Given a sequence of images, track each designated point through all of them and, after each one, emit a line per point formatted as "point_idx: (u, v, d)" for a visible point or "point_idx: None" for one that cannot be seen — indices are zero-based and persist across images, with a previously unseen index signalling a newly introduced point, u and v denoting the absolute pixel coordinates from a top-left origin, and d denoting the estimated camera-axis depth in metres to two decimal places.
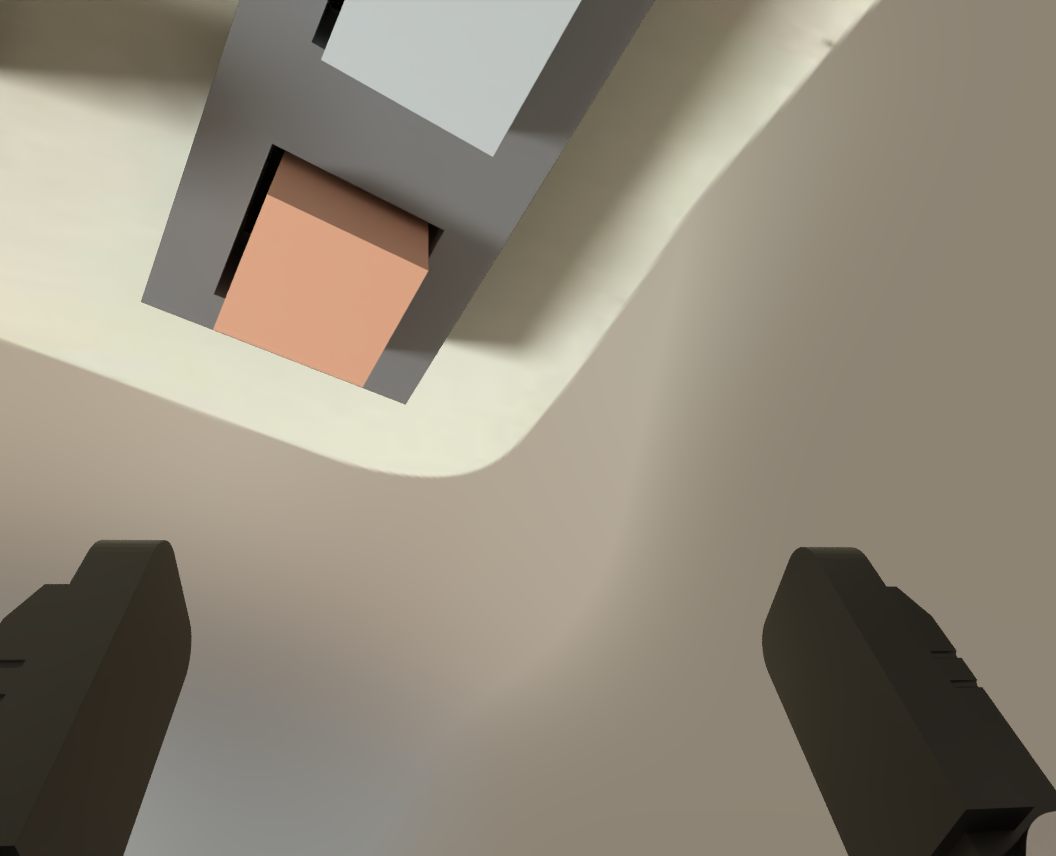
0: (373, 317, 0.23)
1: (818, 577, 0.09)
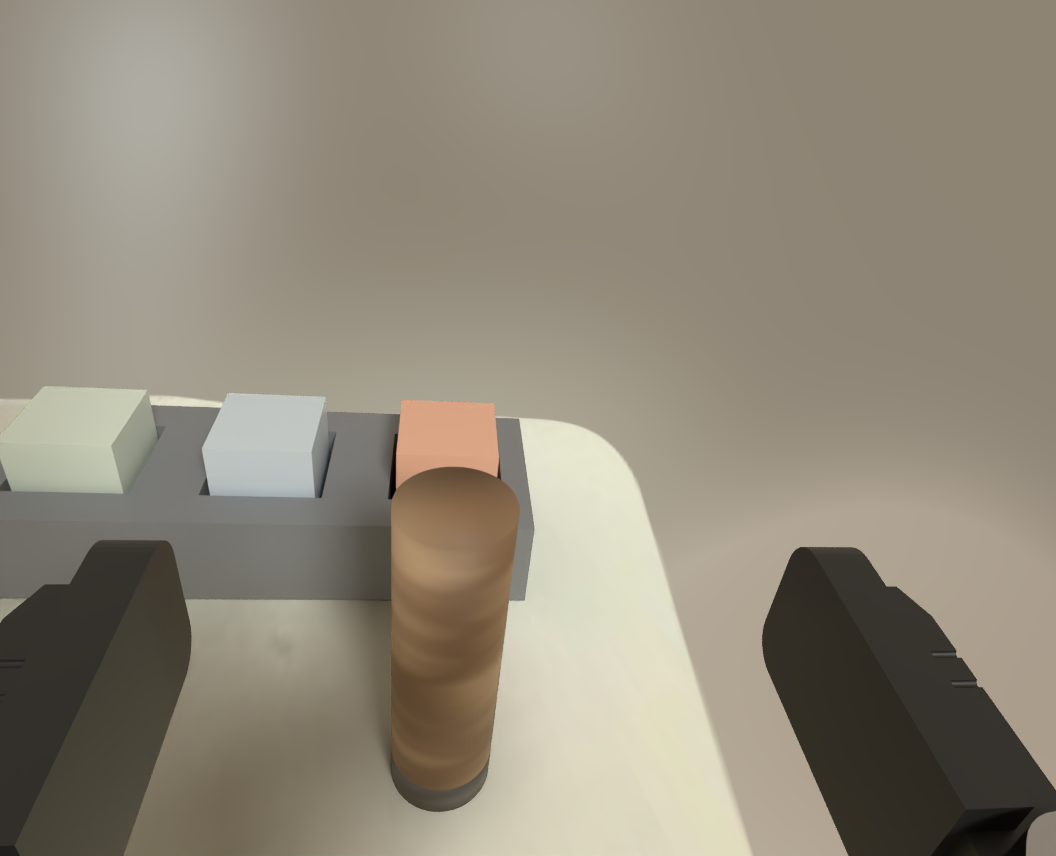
0: (444, 409, 0.40)
1: (817, 578, 0.09)
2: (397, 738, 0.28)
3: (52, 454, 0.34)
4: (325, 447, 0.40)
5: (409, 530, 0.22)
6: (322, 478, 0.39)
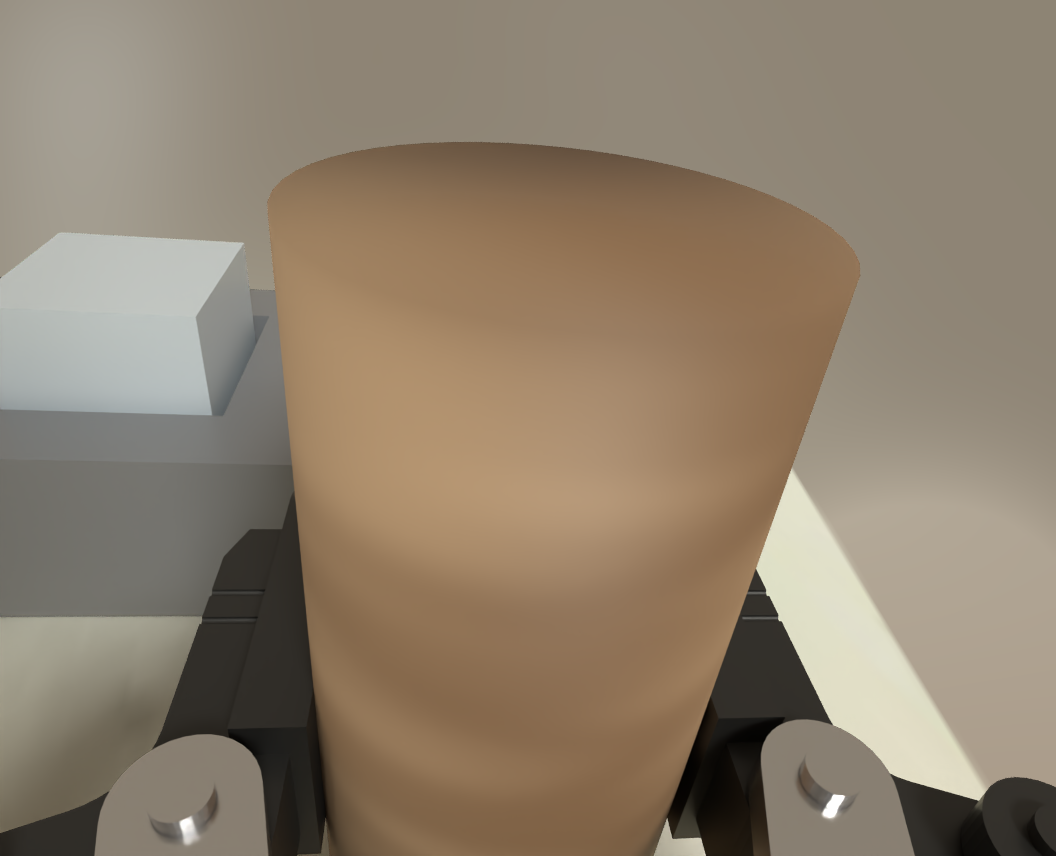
0: None
1: None
2: None
3: None
4: (245, 338, 0.22)
5: (347, 258, 0.04)
6: None
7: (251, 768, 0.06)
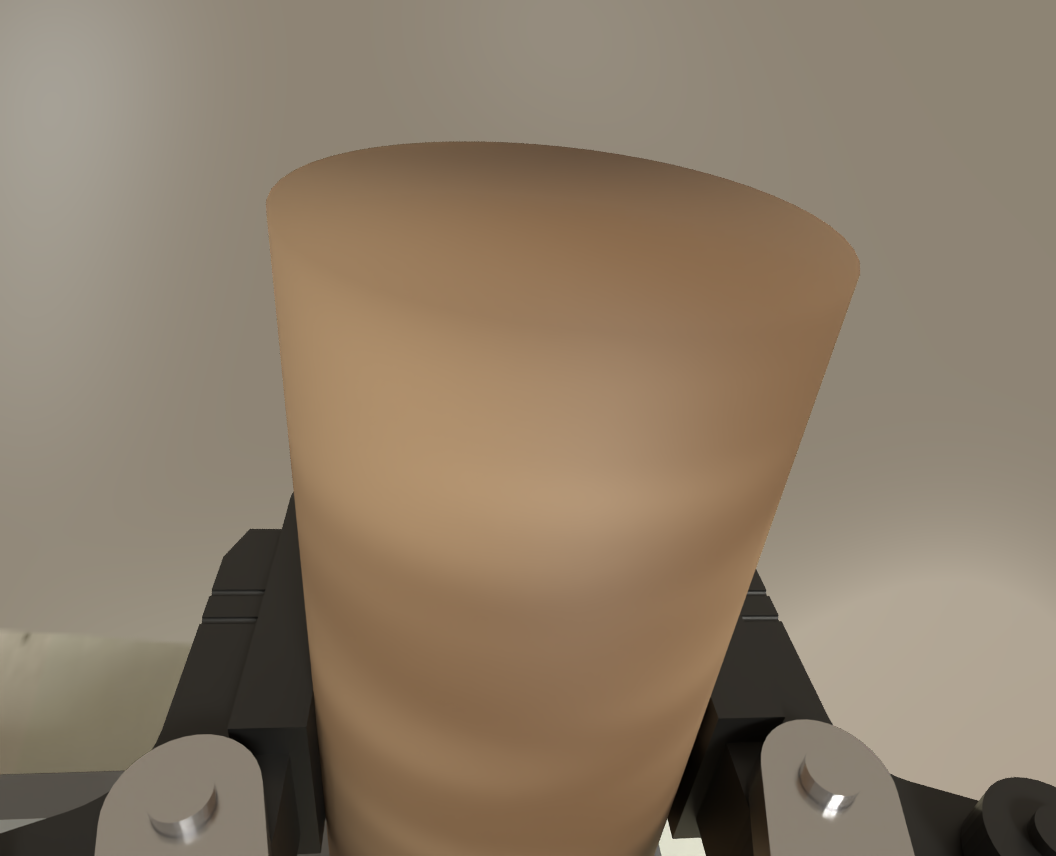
0: None
1: None
2: None
3: None
4: None
5: (346, 257, 0.04)
6: None
7: (251, 768, 0.06)
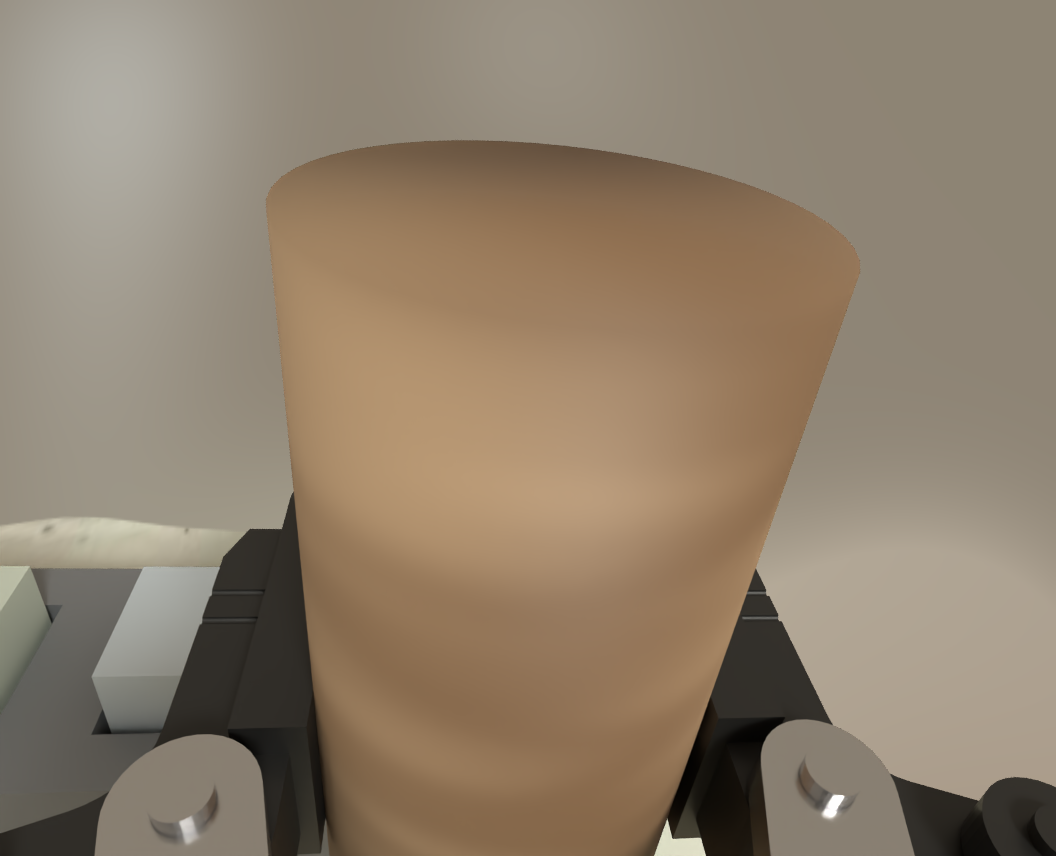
0: None
1: None
2: None
3: None
4: None
5: (346, 254, 0.04)
6: None
7: (251, 768, 0.06)
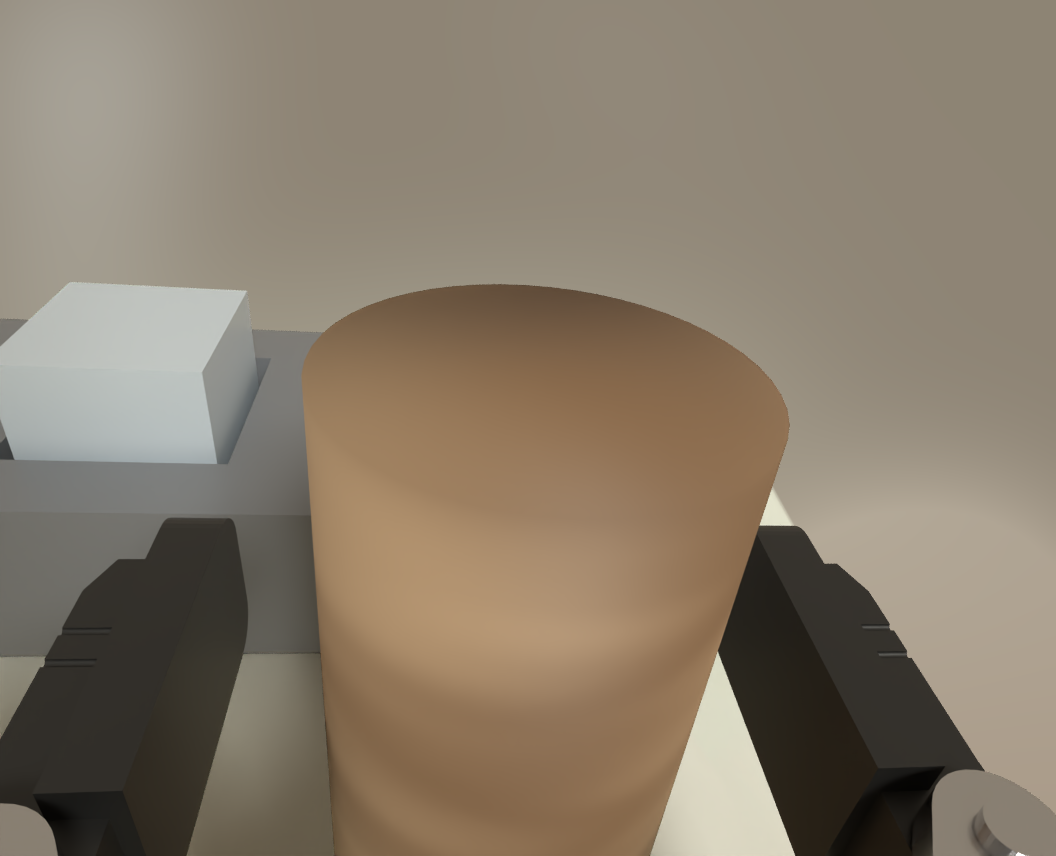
0: None
1: (758, 554, 0.09)
2: None
3: None
4: (248, 381, 0.23)
5: (369, 442, 0.05)
6: None
7: (47, 841, 0.06)
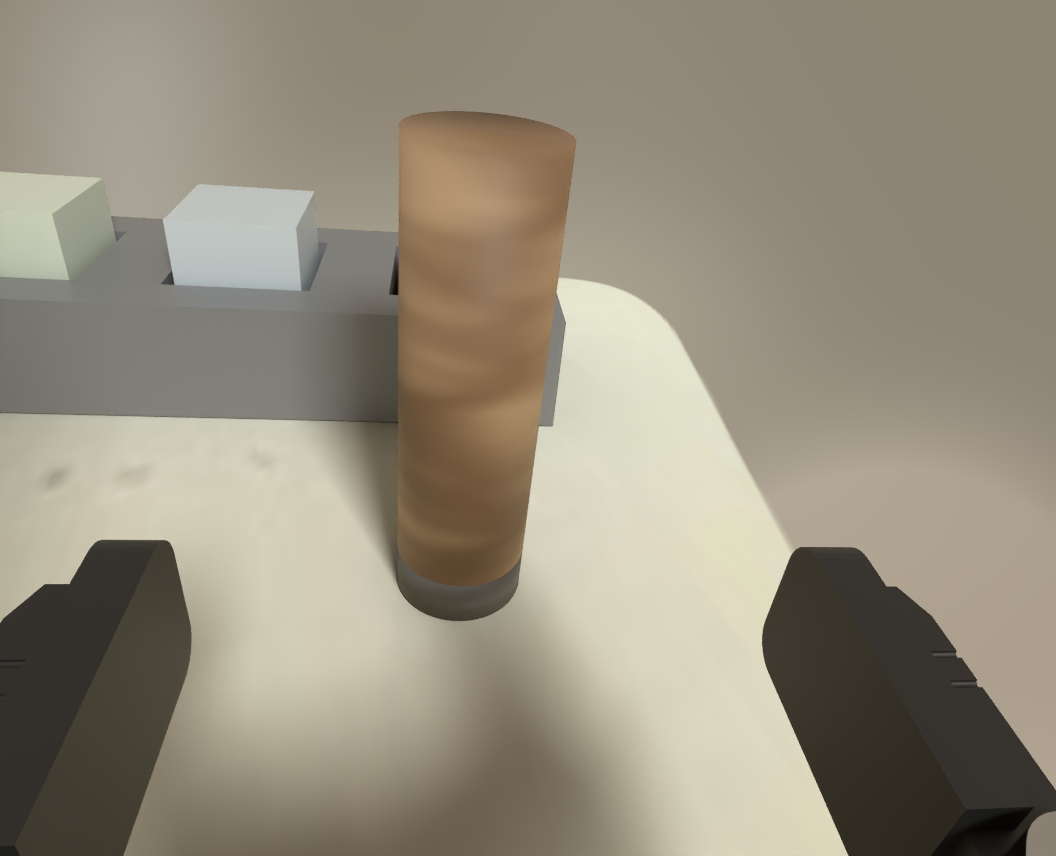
0: None
1: (817, 577, 0.09)
2: (406, 515, 0.21)
3: None
4: (314, 254, 0.34)
5: (426, 139, 0.16)
6: None
7: None
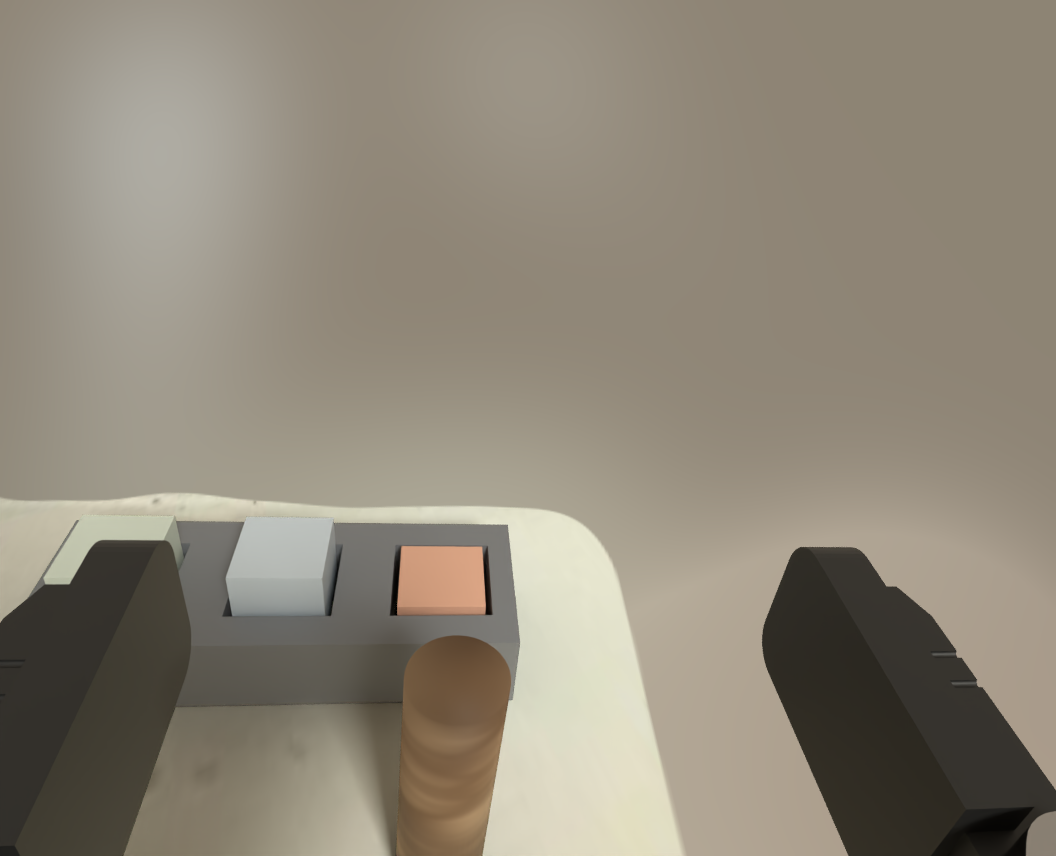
0: (438, 555, 0.45)
1: (817, 578, 0.09)
2: (403, 854, 0.32)
3: None
4: (333, 561, 0.45)
5: (420, 706, 0.26)
6: (331, 591, 0.44)
7: None
